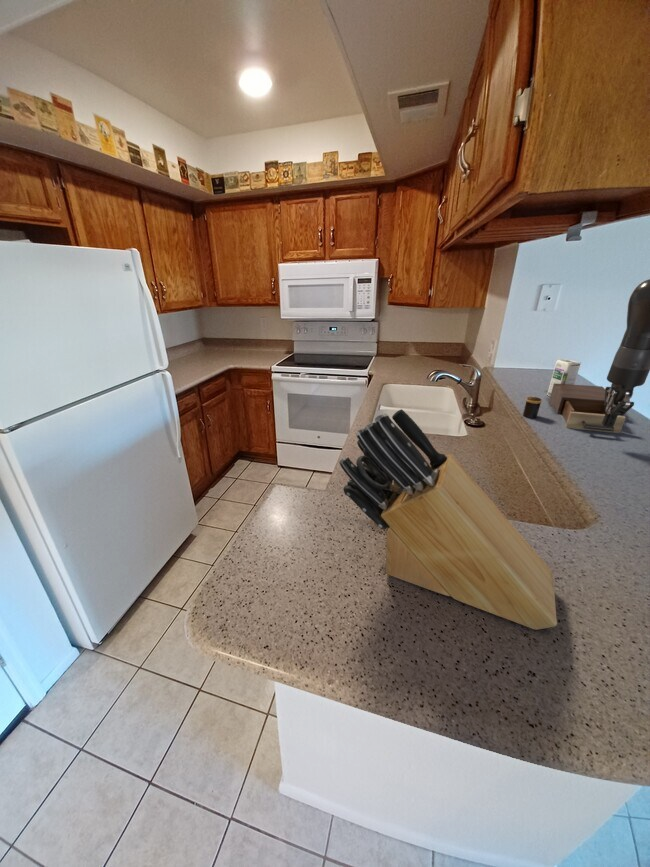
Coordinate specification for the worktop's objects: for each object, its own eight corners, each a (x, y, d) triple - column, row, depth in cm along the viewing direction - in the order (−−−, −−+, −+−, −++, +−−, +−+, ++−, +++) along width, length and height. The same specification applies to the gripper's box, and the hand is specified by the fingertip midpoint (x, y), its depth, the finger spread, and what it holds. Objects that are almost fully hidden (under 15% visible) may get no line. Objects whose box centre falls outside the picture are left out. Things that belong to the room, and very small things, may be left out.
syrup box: (545, 395, 132) (555, 360, 126) (558, 393, 133) (568, 358, 127) (558, 400, 127) (568, 363, 121) (570, 398, 128) (581, 361, 122)
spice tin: (535, 418, 114) (540, 397, 110) (536, 424, 110) (542, 402, 107) (520, 417, 116) (525, 396, 112) (522, 422, 112) (527, 400, 108)
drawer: (623, 441, 96) (631, 423, 93) (568, 435, 100) (574, 418, 98) (604, 417, 110) (610, 401, 107) (557, 413, 115) (561, 397, 112)
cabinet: (608, 423, 108) (616, 401, 105) (555, 418, 114) (562, 397, 110) (595, 406, 120) (602, 386, 117) (548, 402, 126) (553, 383, 122)
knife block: (361, 522, 73) (361, 390, 59) (547, 581, 57) (608, 422, 43) (339, 558, 64) (332, 414, 50) (551, 640, 48) (628, 464, 34)
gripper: (662, 373, 76) (633, 438, 84) (639, 358, 87) (615, 417, 95) (622, 370, 79) (597, 434, 87) (604, 357, 89) (584, 414, 97)
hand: (607, 425), depth 91 cm, fingers closed
